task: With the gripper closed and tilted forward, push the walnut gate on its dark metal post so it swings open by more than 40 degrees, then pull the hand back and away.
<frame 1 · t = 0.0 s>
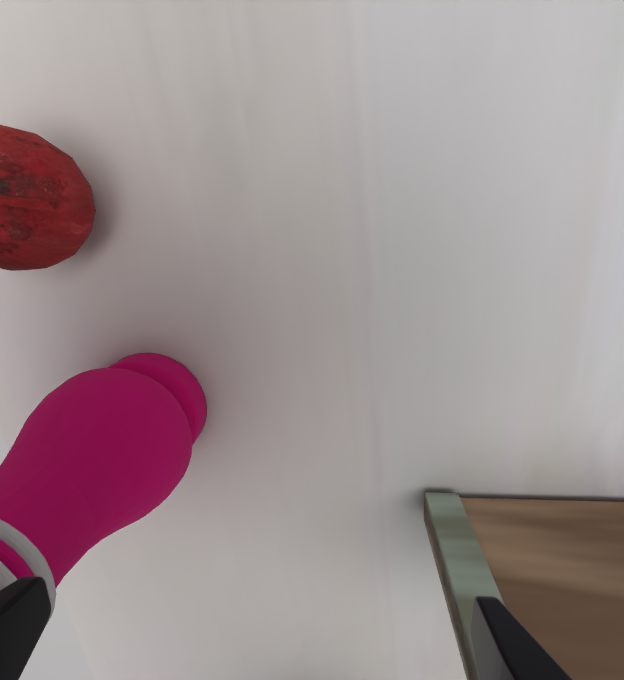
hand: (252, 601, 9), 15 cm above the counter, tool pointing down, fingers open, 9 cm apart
pepper mill: (155, 402, 24), on the counter
onion: (72, 204, 21), on the counter
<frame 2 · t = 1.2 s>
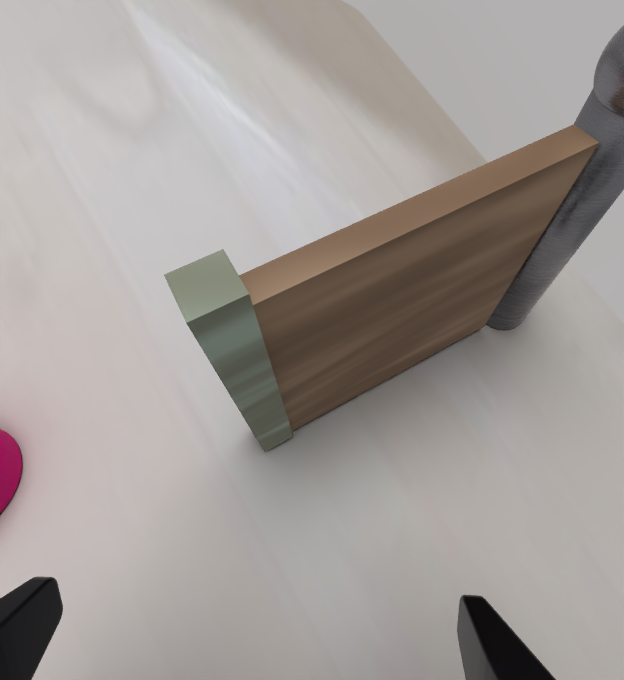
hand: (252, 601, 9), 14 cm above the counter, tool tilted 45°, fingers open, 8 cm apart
gate: (387, 313, 19), point 8 cm above the counter, hinge at 0.0°
gate post: (499, 310, 27), on the counter
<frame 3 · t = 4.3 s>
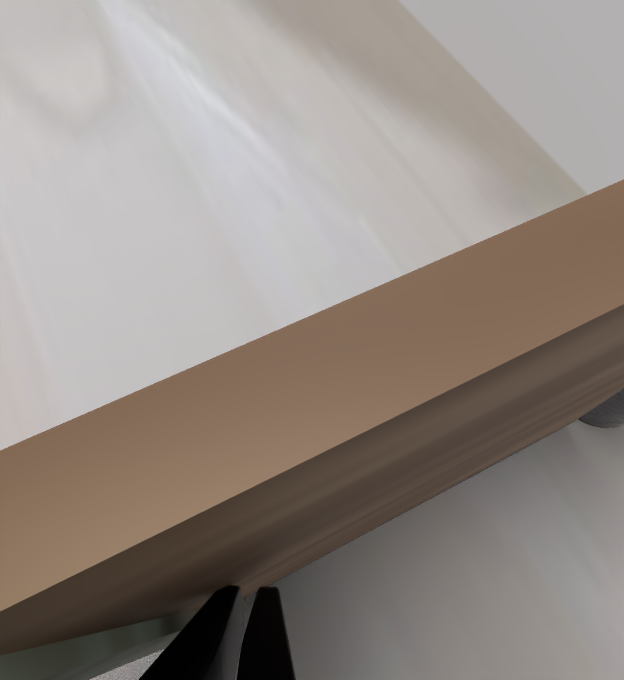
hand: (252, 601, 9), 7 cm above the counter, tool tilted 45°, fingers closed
gate: (420, 449, 9), point 8 cm above the counter, hinge at 2.4°, touching gripper
gate post: (596, 392, 17), on the counter
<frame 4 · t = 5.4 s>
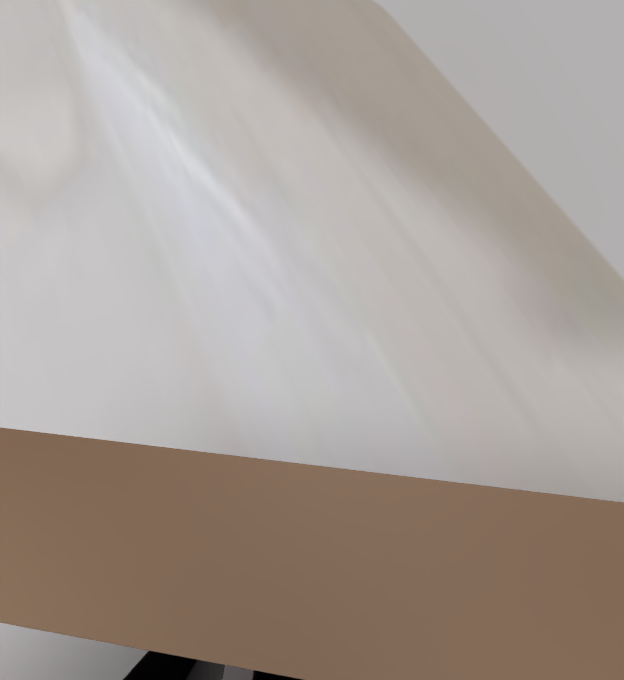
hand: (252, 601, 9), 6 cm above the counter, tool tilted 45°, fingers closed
gate: (384, 572, 8), point 7 cm above the counter, hinge at 35.1°, touching gripper
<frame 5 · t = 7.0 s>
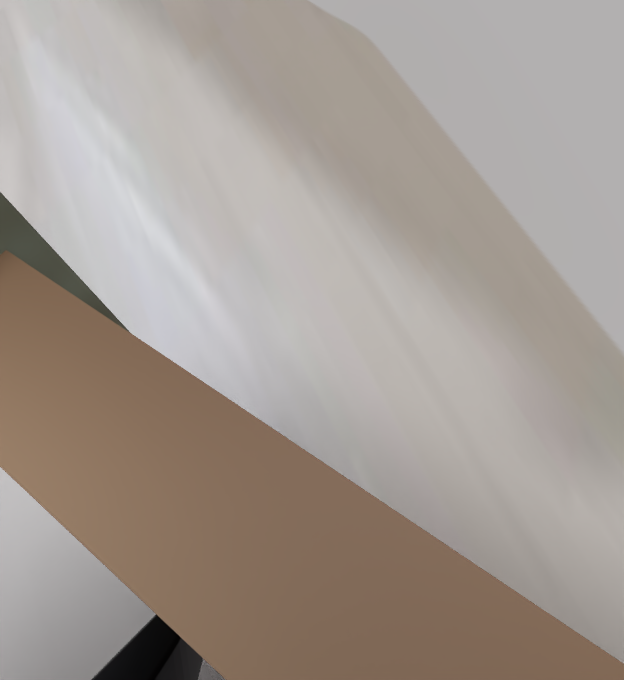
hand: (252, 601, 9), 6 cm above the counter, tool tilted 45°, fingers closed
gate: (448, 657, 7), point 7 cm above the counter, hinge at 62.5°, touching gripper
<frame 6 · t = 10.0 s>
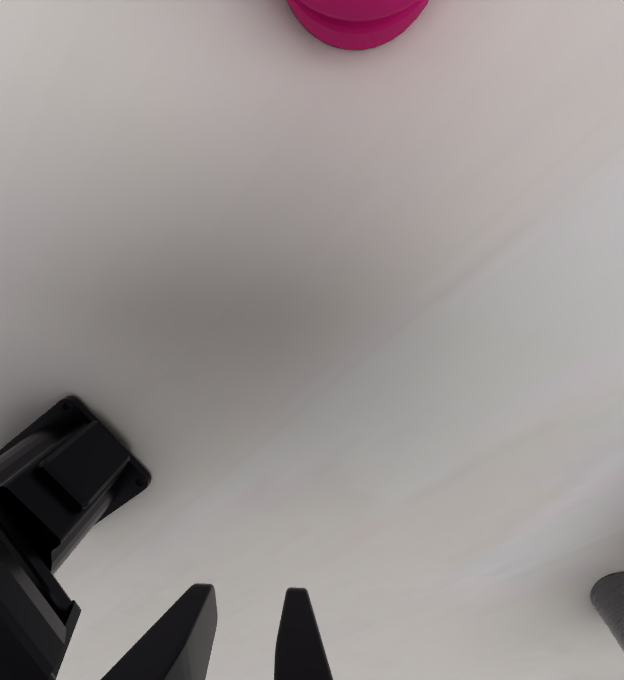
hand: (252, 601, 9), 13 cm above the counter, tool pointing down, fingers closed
gate post: (619, 594, 23), on the counter
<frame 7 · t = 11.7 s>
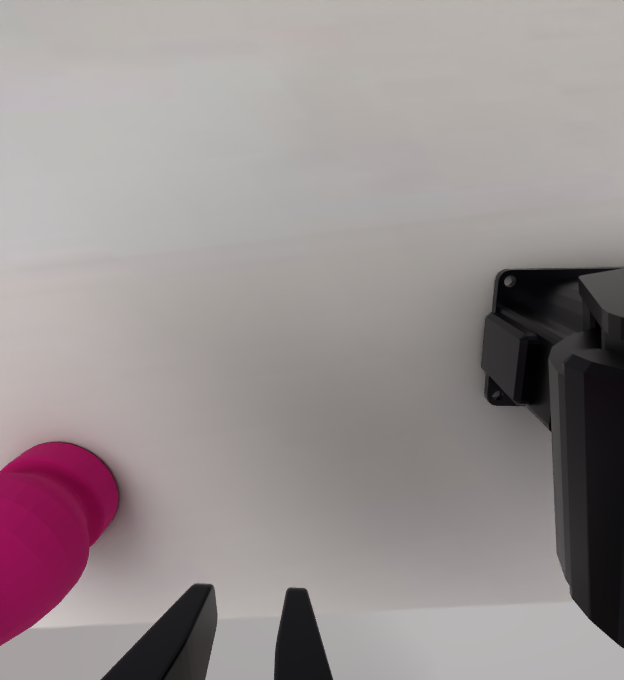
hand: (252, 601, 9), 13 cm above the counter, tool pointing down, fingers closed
pepper mill: (69, 486, 24), on the counter
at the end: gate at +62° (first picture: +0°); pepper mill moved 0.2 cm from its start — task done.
